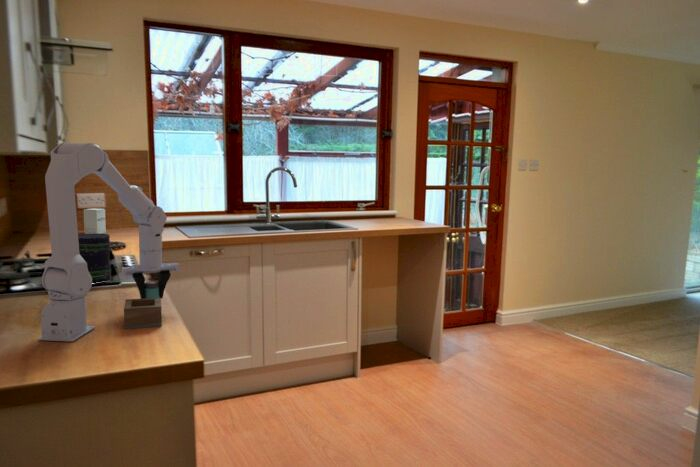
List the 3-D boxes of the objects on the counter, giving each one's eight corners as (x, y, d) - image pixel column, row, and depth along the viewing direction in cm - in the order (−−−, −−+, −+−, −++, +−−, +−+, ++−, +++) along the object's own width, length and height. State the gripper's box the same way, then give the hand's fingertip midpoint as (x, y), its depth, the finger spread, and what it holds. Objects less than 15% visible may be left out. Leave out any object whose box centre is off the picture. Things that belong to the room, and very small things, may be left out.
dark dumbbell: (155, 286, 170) (153, 275, 183) (169, 278, 171) (166, 267, 184) (146, 272, 168) (144, 261, 181) (160, 264, 169) (157, 254, 182)
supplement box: (97, 234, 256) (96, 209, 254) (83, 234, 257) (82, 209, 256) (106, 232, 264) (105, 208, 262) (93, 232, 265) (92, 207, 263)
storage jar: (74, 279, 167) (72, 234, 165) (106, 276, 173) (105, 232, 171) (81, 286, 159) (80, 239, 157) (115, 282, 166) (113, 236, 163)
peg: (156, 310, 137) (155, 285, 136) (141, 309, 138) (140, 284, 137) (162, 306, 141) (161, 281, 140) (147, 305, 142) (147, 281, 141)
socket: (161, 326, 125) (161, 306, 124) (124, 329, 122) (123, 309, 121) (161, 316, 133) (160, 297, 132) (126, 318, 130) (125, 299, 129)
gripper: (124, 254, 130) (125, 305, 132) (182, 250, 138) (182, 299, 140) (119, 249, 136) (121, 299, 138) (175, 246, 144) (175, 293, 146)
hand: (151, 298), depth 139 cm, fingers closed on peg, 4 cm apart
